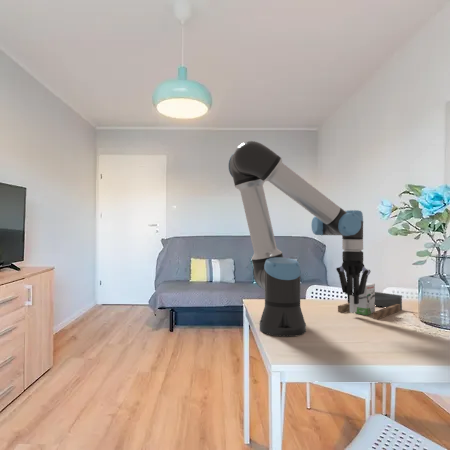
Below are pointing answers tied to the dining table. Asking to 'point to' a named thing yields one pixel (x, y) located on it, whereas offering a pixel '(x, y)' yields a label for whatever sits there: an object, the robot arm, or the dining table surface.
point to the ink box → (367, 300)
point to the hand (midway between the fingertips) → (353, 312)
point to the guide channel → (381, 304)
